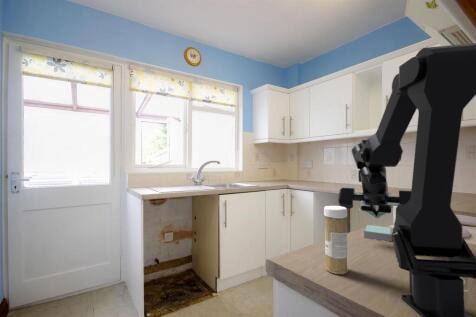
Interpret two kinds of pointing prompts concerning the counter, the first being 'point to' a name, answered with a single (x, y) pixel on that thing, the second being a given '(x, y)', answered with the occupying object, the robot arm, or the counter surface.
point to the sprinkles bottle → (336, 239)
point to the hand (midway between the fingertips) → (377, 216)
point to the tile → (378, 233)
